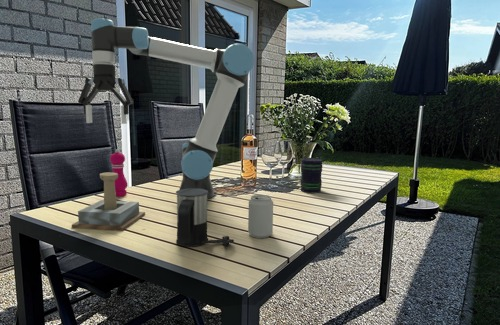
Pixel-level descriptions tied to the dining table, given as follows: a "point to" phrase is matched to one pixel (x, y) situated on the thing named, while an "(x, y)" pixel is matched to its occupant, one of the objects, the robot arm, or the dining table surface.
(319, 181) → the storage jar
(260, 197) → the can
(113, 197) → the handle
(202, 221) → the milk frother
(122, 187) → the pepper mill
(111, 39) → the robot arm
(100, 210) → the frame
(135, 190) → the dining table surface
